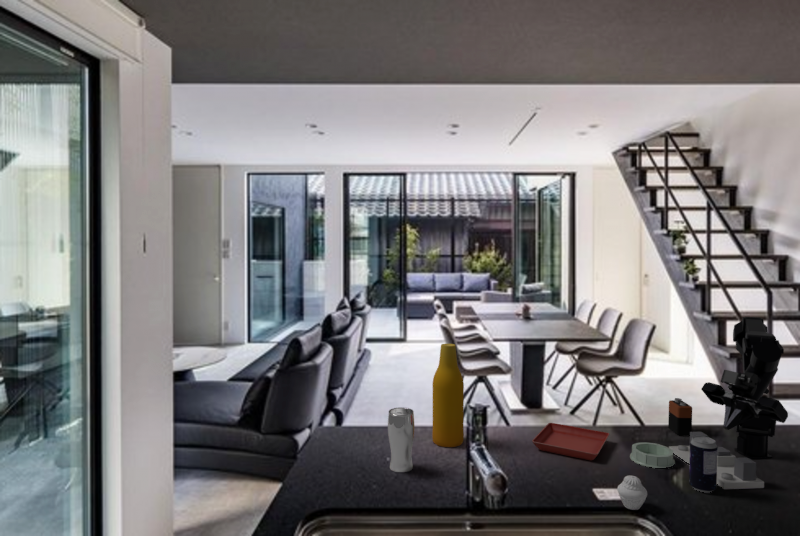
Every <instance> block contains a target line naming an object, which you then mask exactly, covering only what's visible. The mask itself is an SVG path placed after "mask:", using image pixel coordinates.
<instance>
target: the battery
mask: <svg viewBox="0 0 800 536" xmlns="http://www.w3.org/2000/svg"><path fill="white" fill-rule="evenodd" d="M667 426H668V429H669V430H670V431H671V432H673V433H674V434H675V435H677V436H678V435H690V432H693V431H692V429H693V428H692V427H693V407H692V405H690V404H688V403H687V402H685V401H683V400H682V398H678V397H677V398H676V397H675V398H674V399H673V400H671V399H670V400H669V401H668V424H667Z"/></svg>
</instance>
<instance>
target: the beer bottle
mask: <svg viewBox="0 0 800 536" xmlns="http://www.w3.org/2000/svg"><path fill="white" fill-rule="evenodd" d="M457 358H458V357H457V349H456V344H454V343H441V345H440V351H439V362H438V366H437V368H436V371H435V372H434V375H433V378H432V434H431V435H432V436H431V437H432V441H433V443H434V444H435V445H436V446H438V447H442V448H457V447H459V446H461V445H462V444H463V442H464V438H465V436H464V434H465V432H464V431H465V430H464V419H465V418H464V417H465V416H464V414H465V413H464V412H465V411H464V410H465V409H464V404H465V403H464V399H465V398H464V397H465V396H464V393H465V391H464V390H465V389H464V386H465V383H464V382H465V381H464V379H463V378H464V377H463V375H462V372H461V370H460V368H459V365H458V359H457Z"/></svg>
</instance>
